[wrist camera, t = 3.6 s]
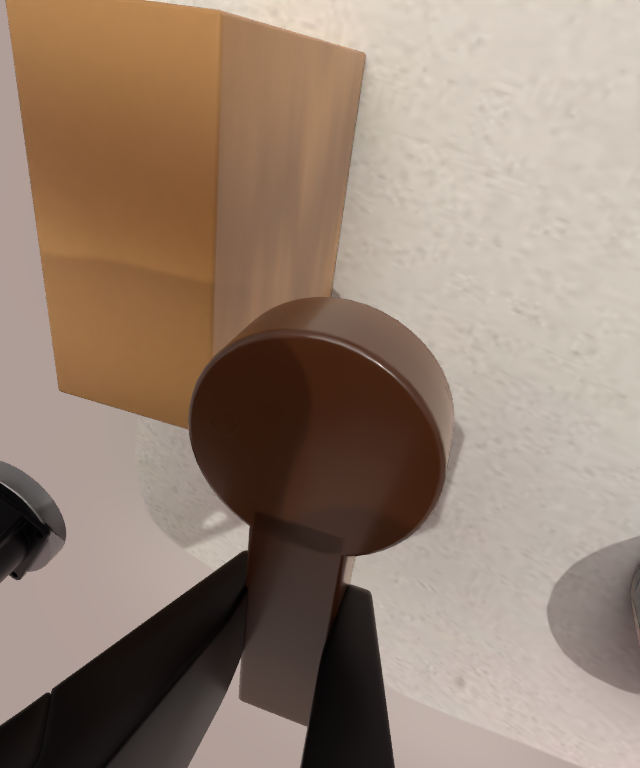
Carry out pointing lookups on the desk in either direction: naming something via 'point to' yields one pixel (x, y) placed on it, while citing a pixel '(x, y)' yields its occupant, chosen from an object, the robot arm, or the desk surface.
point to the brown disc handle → (317, 469)
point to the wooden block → (175, 183)
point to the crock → (636, 601)
